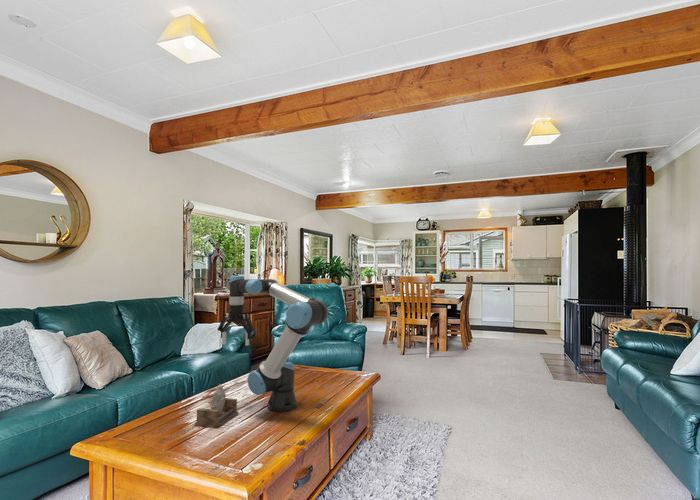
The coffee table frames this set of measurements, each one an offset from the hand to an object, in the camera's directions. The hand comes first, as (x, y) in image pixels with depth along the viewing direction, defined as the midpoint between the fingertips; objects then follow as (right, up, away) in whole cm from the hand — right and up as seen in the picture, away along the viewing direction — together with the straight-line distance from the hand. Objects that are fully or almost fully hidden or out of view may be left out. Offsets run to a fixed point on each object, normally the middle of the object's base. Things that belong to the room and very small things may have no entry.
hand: (235, 344), depth 202 cm
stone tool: (-2, -29, -21) cm, 36 cm away
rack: (-2, -30, -21) cm, 37 cm away
